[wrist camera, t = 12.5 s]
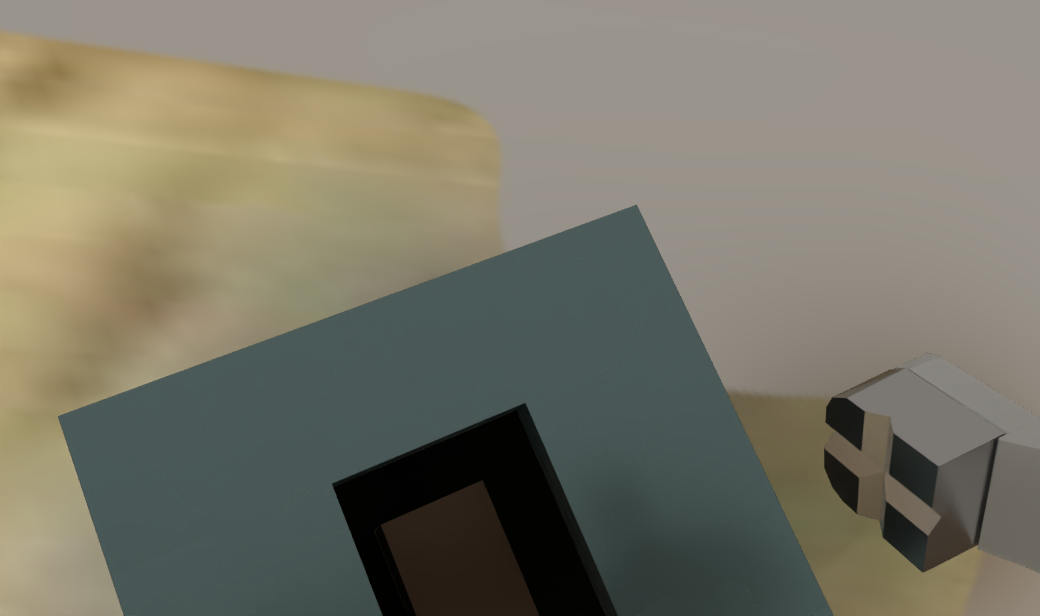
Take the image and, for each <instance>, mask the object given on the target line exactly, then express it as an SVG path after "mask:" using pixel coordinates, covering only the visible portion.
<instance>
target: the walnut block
mask: <svg viewBox="0 0 1040 616" xmlns="http://www.w3.org/2000/svg"><path fill="white" fill-rule="evenodd" d="M374 532H375V535H376V537H377V540H378V542H379V545H380V547H381V550H382V552H383V555H384V558H385V560H386V563H387V565H388V568H389V570H390V573H391V575H392V578H393V581H394V583H395V586H396V588H397V591H398V593H399V596H400V598H401V601H402V604H403V606H404V609H405V611H406V614H407V616H539V614H538V611H537V609H536V607H535V604H534V602H533V599H532V597H531V595H530V592H529V590H528V587H527V585H526V583H525V580H524V578H523V576H522V573H521V571H520V568H519V566H518V564H517V561H516V559H515V556H514V554H513V552H512V549H511V547H510V544H509V542H508V540H507V537H506V535H505V533H504V530H503V528H502V525H501V523H500V521H499V518H498V516H497V513H496V511H495V509H494V506H493V504H492V501H491V499H490V497H489V494H488V492H487V490H486V487H485V485H484V482H483V480H482V481H480V482H477V483H475V484H473V485H471V486H468V487H466V488H464V489H461V490H459V491H457V492H455V493H452V494H450V495H448V496H445V497H443V498H441V499H439V500H436V501H434V502H432V503H430V504H427V505H425V506H423V507H420V508H418V509H416V510H414V511H411V512H409V513H407V514H404V515H402V516H400V517H398V518H395V519H393V520H391V521H388V522H386V523H384V524H382V525H380V526H379V527H378V528H377V529H376V530H375V531H374Z"/></svg>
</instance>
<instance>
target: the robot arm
mask: <svg viewBox="0 0 1040 616" xmlns="http://www.w3.org/2000/svg"><path fill="white" fill-rule="evenodd" d="M826 423H827V424H828V425H829V426H830V427H831V428H832V429H834V432H833V434H832V436H831V437H830V439H829V441H828V443H827V444H826V446H825V448H824V468H825V470H826V473H827V475H828V478H829V480H830V482H831V485H832V487H833V489H834V490H835V491H836V493H837V494H838V495H839V497H840V498H841V499H842V501H843V502H844V503H845V504H847V505H848V506H849V507H850V508H851V509H852V510H853V511H854V512H855V513H856V514H858V515H862V516H865V517H869V518H872V519H876V520H879V521H880V525H881V531H882V536H883V538H884V539H885V540H886V541H888V542H889V543H890V544H891V545H892V546H893V547H894V548H896V549H897V550H898V551H899V552H900V553H901V554H902V555H903V556H905V557H906V558H907V559H908V560H909V561H910V562H911V563H913V564H914V565H915V566H916V567H917V568H918V569H919V570H920V571H922V572H923V573H924V572H926V571H928V570H930V569H932V568H934V567H936V566H938V565H940V564H941V563H943V562H945V561H947V560H949V559H951V558H953V557H955V556H957V555H959V554H961V553H963V552H965V551H967V550H969V549H971V548H973V547H975V546H977V545H978V549H979V550H982V551H984V552H987V553H990V554H992V555H995V556H998V557H1000V558H1003V559H1005V560H1008V561H1010V562H1013V563H1016V564H1018V565H1021V566H1024V567H1026V568H1029V569H1031V570H1034V571H1037V572H1039V573H1040V417H1038V416H1037V415H1035V414H1033V413H1032V412H1030V411H1028V410H1027V409H1025V408H1024V407H1022V406H1020V405H1019V404H1017V403H1016V402H1014V401H1012V400H1011V399H1009V398H1007V397H1006V396H1004V395H1003V394H1001V393H999V392H998V391H996V390H995V389H993V388H991V387H990V386H988V385H987V384H985V383H983V382H982V381H980V380H979V379H977V378H975V377H974V376H972V375H970V374H969V373H967V372H965V371H964V370H962V369H961V368H959V367H957V366H956V365H954V364H953V363H951V362H950V361H948V360H946V359H945V358H943V357H942V356H939V355H935V354H930V353H926V354H924V355H922V356H920V357H917V358H915V359H913V360H911V361H909V362H907V363H905V364H902V365H901V366H898V367H896V368H895V369H892V370H888V371H886V372H884V373H882V374H880V375H878V376H876V377H874V378H872V379H870V380H868V381H866V382H863V383H861V384H859V385H857V386H855V387H853V388H851V389H849V390H847V391H845V392H843V393H840V394H838V395H836V396H834V397H832V399H831V400H830V402H829V404H828V405H827V407H826Z"/></svg>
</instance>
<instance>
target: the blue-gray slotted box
mask: <svg viewBox="0 0 1040 616" xmlns="http://www.w3.org/2000/svg"><path fill="white" fill-rule="evenodd" d="M516 410H517V412H518V414H519V417H520V419H521V421H522V424H523V426H524V428H525V431H526V433H527V435H528V438H529V440H530V442H531V445H532V447H533V449H534V452H535V454H536V456H537V458H538V461H539V463H540V465H541V468H542V470H543V472H544V475H545V477H546V479H547V482H548V484H549V486H550V489H551V491H552V493H553V496H554V498H555V500H556V502H557V505H558V507H559V509H560V512H561V514H562V516H563V519H564V521H565V523H566V526H567V528H568V530H569V533H570V535H571V537H572V540H573V542H574V544H575V546H576V549H577V551H578V553H579V556H580V558H581V560H582V563H583V565H584V567H585V570H586V572H587V574H588V577H589V579H590V581H591V584H592V586H593V588H594V590H595V593H596V595H597V597H598V600H599V602H600V604H601V607H602V609H603V611H604V614H605V616H833V614H832V611H831V609H830V607H829V605H828V603H827V601H826V599H825V597H824V595H823V593H822V591H821V588H820V586H819V584H818V582H817V580H816V578H815V576H814V574H813V572H812V570H811V568H810V566H809V563H808V561H807V559H806V557H805V555H804V553H803V551H802V549H801V547H800V545H799V543H798V540H797V538H796V536H795V534H794V532H793V530H792V528H791V526H790V524H789V522H788V520H787V518H786V515H785V513H784V511H783V509H782V507H781V505H780V503H779V501H778V499H777V497H776V495H775V492H774V490H773V488H772V486H771V484H770V482H769V480H768V478H767V476H766V474H765V472H764V470H763V467H762V465H761V463H760V461H759V459H758V457H757V455H756V453H755V451H754V449H753V447H752V444H751V442H750V440H749V438H748V436H747V434H746V432H745V430H744V428H743V426H742V424H741V421H740V419H739V417H738V415H737V413H736V411H735V409H734V407H733V405H732V403H731V401H730V399H729V396H728V394H727V392H726V390H725V388H724V386H723V384H722V382H721V380H720V378H719V376H718V373H717V371H716V369H715V367H714V365H713V363H712V361H711V359H710V357H709V355H708V353H707V351H706V348H705V346H704V344H703V342H702V340H701V338H700V336H699V334H698V332H697V330H696V328H695V325H694V324H693V321H692V319H691V317H690V315H689V313H688V311H687V309H686V307H685V305H684V303H683V300H682V298H681V296H680V294H679V292H678V290H677V288H676V286H675V284H674V282H673V280H672V278H671V275H670V273H669V271H668V269H667V267H666V265H665V263H664V261H663V259H662V257H661V254H660V253H659V250H658V248H657V246H656V244H655V242H654V240H653V238H652V236H651V234H650V232H649V229H648V227H647V225H646V223H645V221H644V219H643V217H642V215H641V213H640V211H639V209H638V206H637V205H635V206H632V207H630V208H627V209H624V210H621V211H618V212H616V213H613V214H610V215H608V216H605V217H602V218H599V219H597V220H594V221H591V222H589V223H586V224H583V225H580V226H577V227H575V228H572V229H569V230H566V231H564V232H561V233H558V234H555V235H553V236H550V237H547V238H545V239H542V240H539V241H537V242H534V243H531V244H528V245H525V246H523V247H520V248H517V249H514V250H512V251H509V252H506V253H503V254H501V255H498V256H495V257H493V258H490V259H487V260H484V261H482V262H479V263H476V264H473V265H471V266H468V267H465V268H462V269H460V270H457V271H454V272H451V273H449V274H446V275H443V276H440V277H438V278H435V279H432V280H430V281H427V282H424V283H421V284H419V285H416V286H413V287H410V288H408V289H405V290H402V291H399V292H397V293H394V294H391V295H388V296H386V297H383V298H380V299H378V300H375V301H372V302H369V303H367V304H364V305H361V306H358V307H356V308H353V309H350V310H347V311H345V312H342V313H339V314H336V315H334V316H331V317H328V318H326V319H323V320H320V321H317V322H315V323H312V324H309V325H306V326H304V327H301V328H298V329H295V330H293V331H290V332H287V333H284V334H282V335H279V336H276V337H274V338H271V339H268V340H265V341H263V342H260V343H257V344H254V345H252V346H249V347H246V348H243V349H241V350H238V351H235V352H232V353H230V354H227V355H224V356H222V357H219V358H216V359H213V360H211V361H208V362H205V363H202V364H200V365H197V366H194V367H191V368H189V369H186V370H183V371H180V372H178V373H175V374H172V375H170V376H167V377H164V378H161V379H159V380H156V381H153V382H150V383H148V384H145V385H142V386H139V387H137V388H134V389H131V390H128V391H126V392H123V393H120V394H118V395H115V396H112V397H109V398H107V399H104V400H101V401H98V402H96V403H93V404H90V405H87V406H85V407H82V408H79V409H76V410H74V411H71V412H68V413H66V414H63V415H60V416H58V418H59V421H60V424H61V427H62V430H63V433H64V436H65V439H66V442H67V445H68V448H69V451H70V454H71V457H72V460H73V463H74V466H75V469H76V472H77V475H78V479H79V482H80V485H81V488H82V491H83V494H84V497H85V500H86V503H87V506H88V509H89V512H90V515H91V518H92V521H93V524H94V527H95V530H96V533H97V536H98V539H99V542H100V545H101V548H102V551H103V554H104V557H105V560H106V563H107V566H108V569H109V572H110V575H111V578H112V581H113V584H114V587H115V590H116V593H117V596H118V599H119V602H120V605H121V608H122V611H123V614H124V616H382V613H381V610H380V608H379V605H378V603H377V600H376V598H375V595H374V592H373V590H372V587H371V585H370V582H369V579H368V577H367V574H366V572H365V569H364V566H363V564H362V561H361V559H360V556H359V553H358V551H357V548H356V546H355V543H354V540H353V538H352V535H351V533H350V530H349V528H348V525H347V522H346V520H345V517H344V515H343V512H342V509H341V507H340V504H339V502H338V499H337V496H336V494H335V491H334V489H333V487H335V486H337V485H340V484H342V483H344V482H347V481H349V480H352V479H354V478H356V477H359V476H361V475H364V474H366V473H368V472H371V471H373V470H375V469H378V468H380V467H383V466H385V465H387V464H390V463H392V462H395V461H397V460H399V459H402V458H404V457H406V456H409V455H411V454H414V453H416V452H418V451H421V450H423V449H426V448H428V447H430V446H433V445H435V444H437V443H440V442H442V441H445V440H447V439H449V438H452V437H454V436H457V435H459V434H461V433H464V432H466V431H468V430H471V429H473V428H476V427H478V426H480V425H483V424H485V423H488V422H490V421H492V420H495V419H497V418H499V417H502V416H504V415H507V414H509V413H511V412H514V411H516Z"/></svg>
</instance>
